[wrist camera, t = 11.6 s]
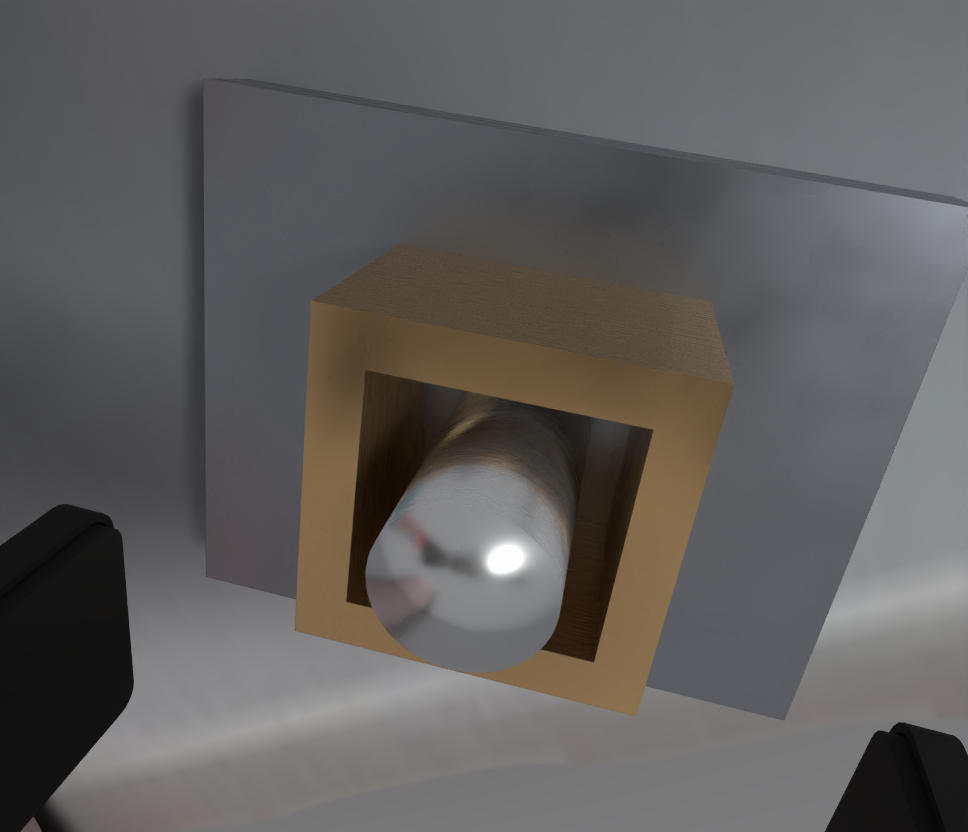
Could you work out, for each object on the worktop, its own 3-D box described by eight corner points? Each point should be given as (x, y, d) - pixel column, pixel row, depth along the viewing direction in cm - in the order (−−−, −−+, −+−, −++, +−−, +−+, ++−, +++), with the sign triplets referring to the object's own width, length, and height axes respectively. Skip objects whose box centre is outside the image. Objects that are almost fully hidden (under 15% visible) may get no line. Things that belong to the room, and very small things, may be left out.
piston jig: (953, 197, 17) (1215, 295, 9) (773, 668, 22) (839, 982, 14) (246, 79, 18) (-40, 77, 11) (239, 539, 24) (44, 756, 16)
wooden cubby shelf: (711, 301, 16) (733, 384, 12) (639, 567, 19) (636, 716, 15) (399, 243, 17) (310, 300, 13) (374, 507, 20) (294, 631, 16)
